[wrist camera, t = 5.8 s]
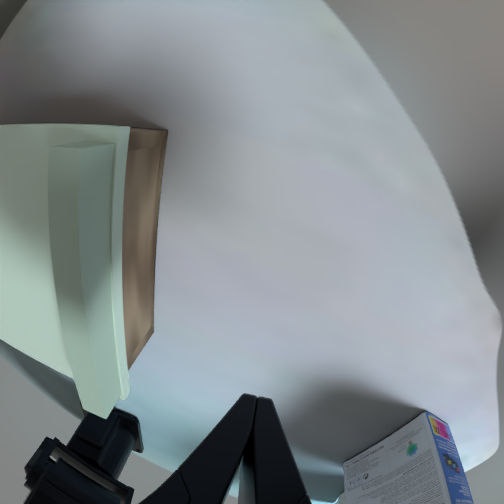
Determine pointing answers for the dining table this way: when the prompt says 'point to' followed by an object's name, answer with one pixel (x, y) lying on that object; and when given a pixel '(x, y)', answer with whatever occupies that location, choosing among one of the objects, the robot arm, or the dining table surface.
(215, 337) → the dining table surface
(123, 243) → the box
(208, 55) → the dining table surface
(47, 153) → the lid
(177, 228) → the dining table surface
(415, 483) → the ink cartridge box
